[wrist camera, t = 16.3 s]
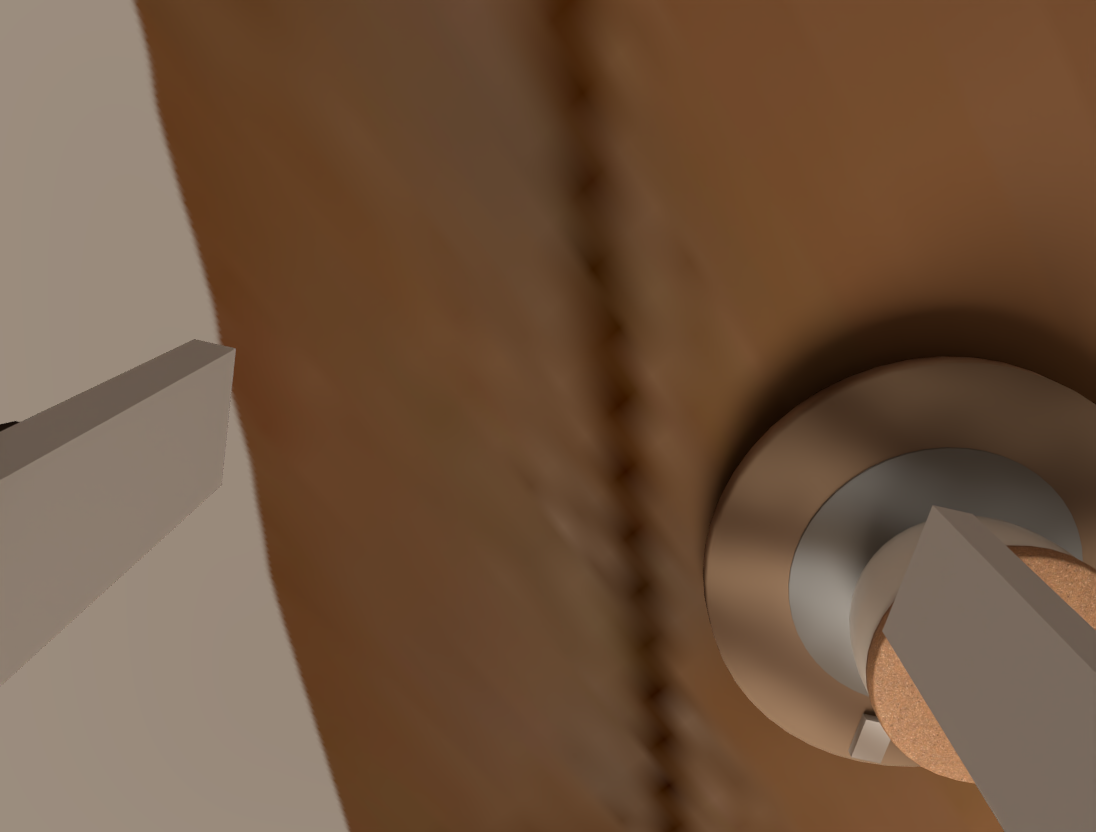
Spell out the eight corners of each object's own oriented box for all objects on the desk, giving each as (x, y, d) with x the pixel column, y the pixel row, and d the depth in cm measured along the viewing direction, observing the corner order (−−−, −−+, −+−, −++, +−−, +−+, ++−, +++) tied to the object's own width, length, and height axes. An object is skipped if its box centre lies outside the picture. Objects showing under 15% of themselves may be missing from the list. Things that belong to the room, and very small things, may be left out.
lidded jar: (1078, 618, 41) (1217, 747, 32) (876, 709, 43) (954, 855, 34) (993, 440, 38) (1118, 526, 29) (782, 546, 40) (840, 657, 31)
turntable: (774, 310, 39) (784, 318, 37) (1225, 412, 39) (1258, 425, 37) (655, 701, 45) (659, 725, 43) (1043, 782, 46) (1063, 810, 44)
